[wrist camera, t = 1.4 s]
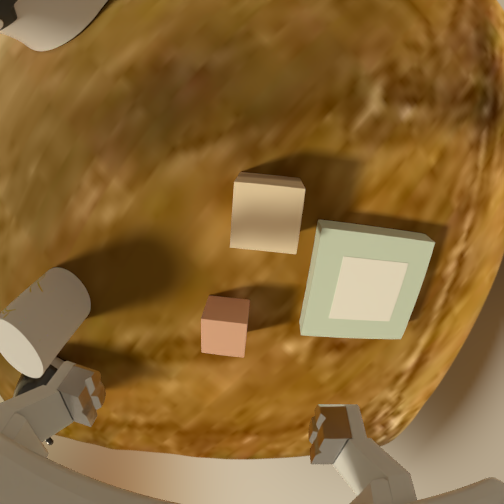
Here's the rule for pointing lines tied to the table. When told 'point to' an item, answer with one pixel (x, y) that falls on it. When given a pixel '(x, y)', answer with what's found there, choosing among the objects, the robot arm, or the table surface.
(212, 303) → the terracotta block
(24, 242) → the table surface
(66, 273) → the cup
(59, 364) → the pump dispenser
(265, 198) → the beech block
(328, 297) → the sage base
